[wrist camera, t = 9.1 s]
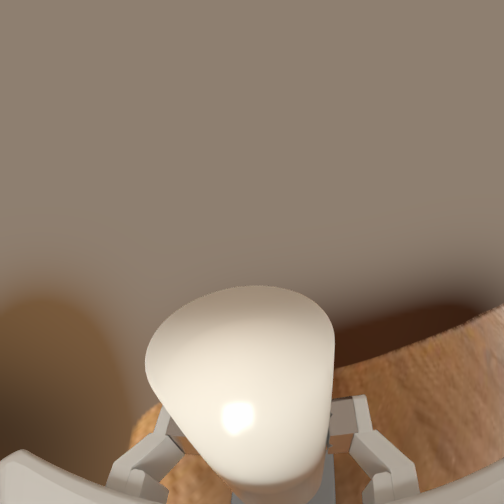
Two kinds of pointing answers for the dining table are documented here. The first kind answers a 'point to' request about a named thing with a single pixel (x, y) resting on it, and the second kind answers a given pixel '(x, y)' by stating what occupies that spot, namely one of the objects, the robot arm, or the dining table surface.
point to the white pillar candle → (250, 388)
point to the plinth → (325, 495)
